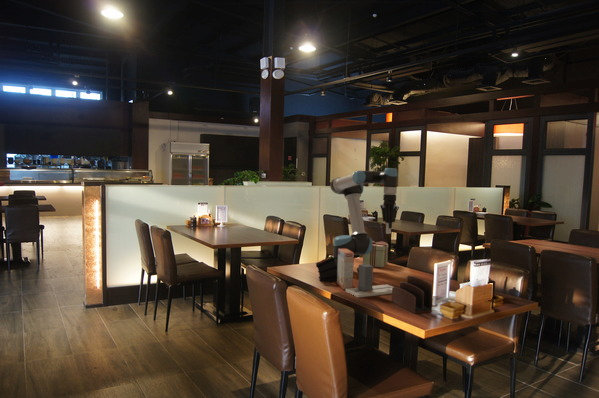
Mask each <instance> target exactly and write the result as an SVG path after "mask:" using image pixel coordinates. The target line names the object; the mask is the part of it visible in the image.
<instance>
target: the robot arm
mask: <svg viewBox="0 0 599 398" xmlns="http://www.w3.org/2000/svg"><path fill="white" fill-rule="evenodd" d="M364 184H379V185H380V184H381V185H383V204H381V205H379V206H380V209H381V215H382V221H383V222H385V234H387V235H389V234H392V227H393V223H395V222H396V218H397V215H398V210H399V208H400V207H399V206H398V205H396V204H397V203H396V201H397V195H396V194H397V189H398V187H397V185H398V169H397V168H395V167H394V168H391V167H386V168H384V171H383V170H382V171H380V170H377V171H375V170H355V171H354V172H353V173H352V174H349V175H346V176H343V177H341V176H337V177H335V178H333V179H332V180H331V182H330V185H329V186H330V189H331V191H332V192H333V193H334V194H337V195H343V197H344V199H345V200H346V202H347V207H348V214H349V220H350V227H351V234H350V235H349V234H348V235H347V234H345V235H344V234H342V235H338V236H335V237H334V238H333V243H332V246H333V247H332V249H333V250H332V251H333V253H332V254H333V255H332V256H333V258H334V259H335V263H336V266H337V268H338V249H348V250H350V251H352V252H353V253H354V256H363V255H364V254H369V253H370V252H371V250H372V247H373V242H372V241H373V239H372V238H371V236H369V235H368V232H367V231H365V230H366V229H365V224H364V219H363V218H364V217H363V211H362V206H361V199H360V198H361V197H362V194H363V192H364V187H365V186H364Z"/></svg>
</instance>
